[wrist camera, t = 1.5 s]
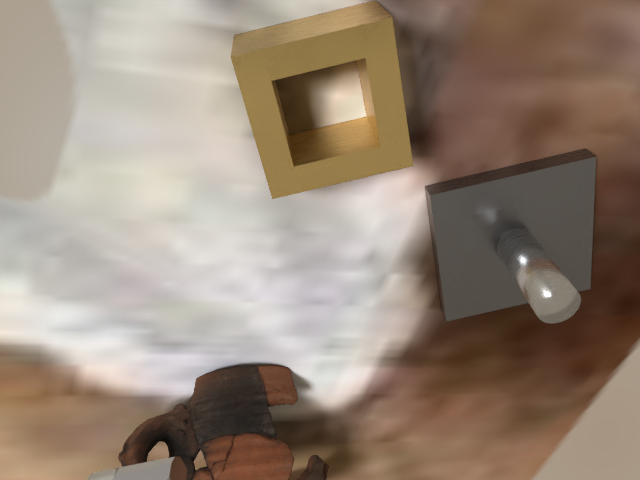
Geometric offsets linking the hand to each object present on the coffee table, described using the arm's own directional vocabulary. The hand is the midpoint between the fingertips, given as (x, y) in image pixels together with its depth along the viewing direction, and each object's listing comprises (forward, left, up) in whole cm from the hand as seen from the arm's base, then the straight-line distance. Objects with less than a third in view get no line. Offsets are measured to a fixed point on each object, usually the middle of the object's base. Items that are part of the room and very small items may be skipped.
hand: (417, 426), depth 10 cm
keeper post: (+10, +8, -19) cm, 23 cm away
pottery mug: (+18, -9, -19) cm, 28 cm away
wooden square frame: (0, 0, -19) cm, 19 cm away
